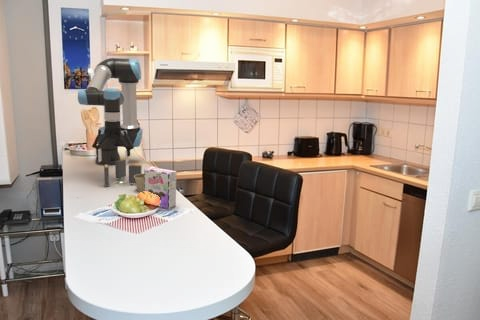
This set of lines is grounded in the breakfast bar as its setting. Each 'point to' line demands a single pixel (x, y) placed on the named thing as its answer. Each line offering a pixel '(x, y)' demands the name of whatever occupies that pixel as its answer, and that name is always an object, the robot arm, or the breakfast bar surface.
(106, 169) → the dark grey upright block
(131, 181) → the grey thin slab
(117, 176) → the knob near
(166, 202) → the candy box
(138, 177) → the flower pot
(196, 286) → the breakfast bar surface
